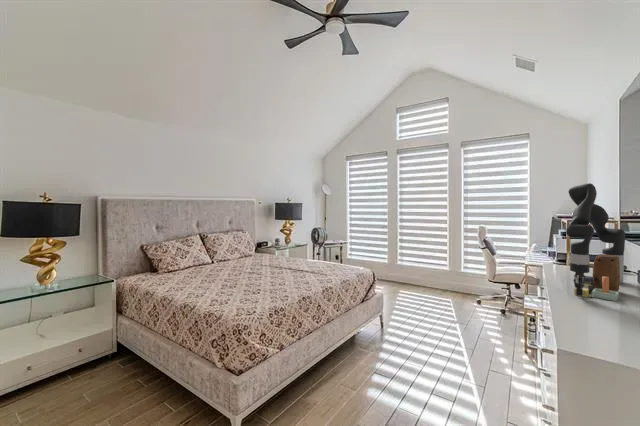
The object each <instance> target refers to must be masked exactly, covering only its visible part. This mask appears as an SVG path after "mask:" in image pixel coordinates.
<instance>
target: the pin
mask: <svg viewBox="0 0 640 426" xmlns="http://www.w3.org/2000/svg"><path fill="white" fill-rule="evenodd" d="M602 293H608V294H609V277H602Z"/></svg>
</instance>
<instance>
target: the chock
mask: <svg viewBox="0 0 640 426" xmlns="http://www.w3.org/2000/svg"><path fill="white" fill-rule="evenodd" d="M582 289H583V295H582V296H581V297H582V298H583V297H584V298H587V297H589V294H590V293H589V290H588V288H582ZM573 291H574V292H573V293H574V294H573V295H574V296H577V295H576V288H575V287H574V290H573Z"/></svg>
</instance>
